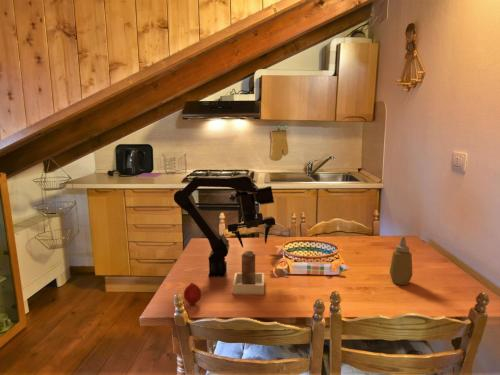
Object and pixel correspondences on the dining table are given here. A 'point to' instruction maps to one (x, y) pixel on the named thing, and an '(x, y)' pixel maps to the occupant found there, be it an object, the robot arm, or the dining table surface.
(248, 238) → the dining table surface
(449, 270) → the dining table surface
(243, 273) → the pepper mill
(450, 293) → the dining table surface
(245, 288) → the tray
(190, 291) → the onion
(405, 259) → the squeeze bottle
